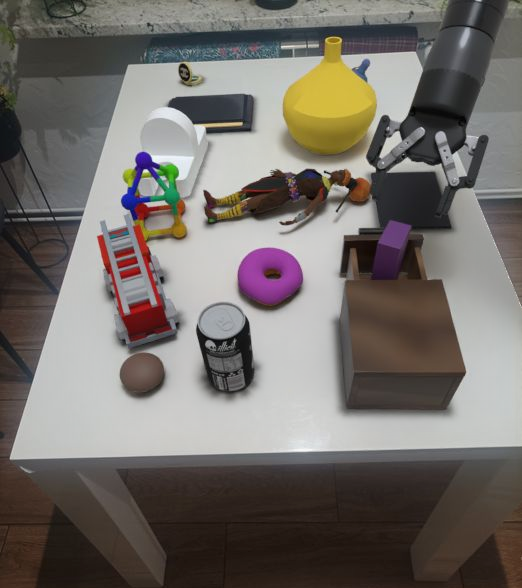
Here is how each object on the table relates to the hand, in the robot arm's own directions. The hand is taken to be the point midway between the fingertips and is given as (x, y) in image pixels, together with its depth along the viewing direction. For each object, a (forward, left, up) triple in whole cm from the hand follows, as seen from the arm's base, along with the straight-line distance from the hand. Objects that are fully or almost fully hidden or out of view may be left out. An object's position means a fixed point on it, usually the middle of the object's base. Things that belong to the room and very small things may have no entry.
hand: (405, 208), depth 63 cm
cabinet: (+2, +15, -14) cm, 21 cm away
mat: (-6, -21, -14) cm, 26 cm away
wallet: (+34, -53, -15) cm, 65 cm away
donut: (+19, 0, -15) cm, 24 cm away
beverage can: (+24, +17, -15) cm, 33 cm away
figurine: (+16, -20, -15) cm, 29 cm away
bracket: (+39, -33, -15) cm, 53 cm away
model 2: (+4, -57, -15) cm, 59 cm away
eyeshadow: (+40, -70, -15) cm, 82 cm away
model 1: (+39, -15, -15) cm, 44 cm away
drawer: (+2, +2, -14) cm, 14 cm away
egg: (+36, +18, -15) cm, 43 cm away
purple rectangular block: (+2, +3, -12) cm, 13 cm away
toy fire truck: (+39, +4, -15) cm, 41 cm away
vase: (+8, -41, -15) cm, 44 cm away
